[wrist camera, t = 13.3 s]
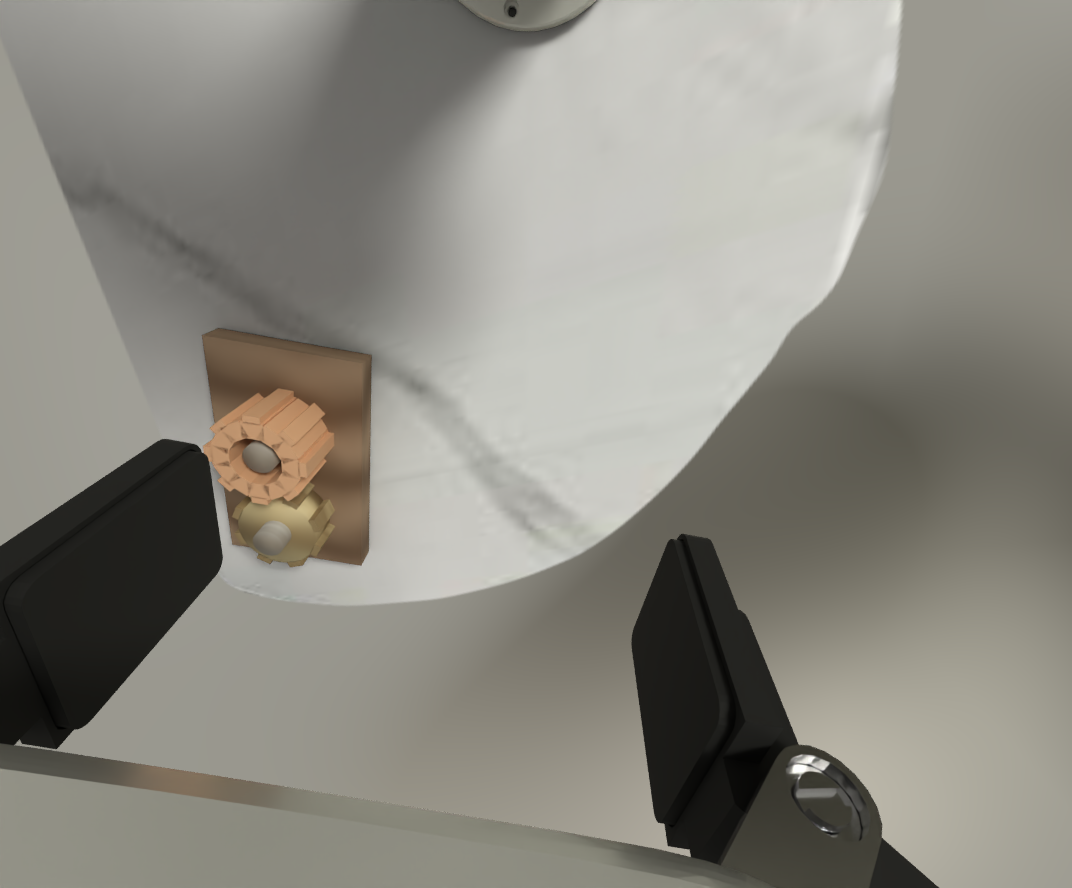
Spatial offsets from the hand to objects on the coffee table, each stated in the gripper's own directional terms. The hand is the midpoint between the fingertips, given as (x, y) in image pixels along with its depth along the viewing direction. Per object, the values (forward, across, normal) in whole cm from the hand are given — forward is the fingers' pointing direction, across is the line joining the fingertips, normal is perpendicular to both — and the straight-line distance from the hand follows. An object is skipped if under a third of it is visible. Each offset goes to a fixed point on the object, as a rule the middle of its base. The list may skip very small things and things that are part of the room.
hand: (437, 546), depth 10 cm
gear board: (+30, +17, +18) cm, 39 cm away
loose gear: (+28, +17, +15) cm, 36 cm away
